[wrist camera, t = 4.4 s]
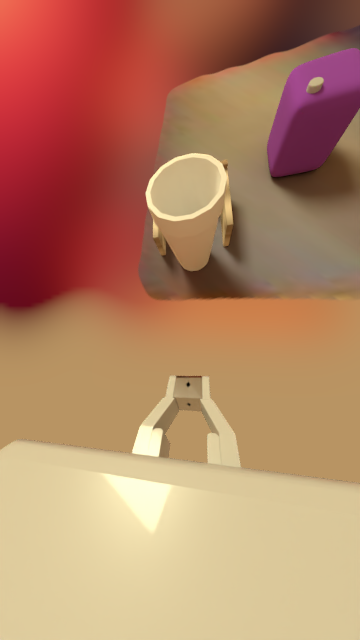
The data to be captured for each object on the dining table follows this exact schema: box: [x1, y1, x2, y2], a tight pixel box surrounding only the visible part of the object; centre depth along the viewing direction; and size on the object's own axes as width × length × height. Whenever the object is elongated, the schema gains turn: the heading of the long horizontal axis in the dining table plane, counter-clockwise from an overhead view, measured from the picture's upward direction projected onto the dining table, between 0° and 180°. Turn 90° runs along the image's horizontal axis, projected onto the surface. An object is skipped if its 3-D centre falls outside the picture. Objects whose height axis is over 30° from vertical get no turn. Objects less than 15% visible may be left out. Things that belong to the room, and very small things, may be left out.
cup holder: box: [153, 160, 233, 255], centre depth 27 cm, size 13×14×6 cm
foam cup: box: [146, 153, 227, 271], centre depth 22 cm, size 10×9×13 cm
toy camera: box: [267, 48, 360, 177], centre depth 24 cm, size 11×14×10 cm
